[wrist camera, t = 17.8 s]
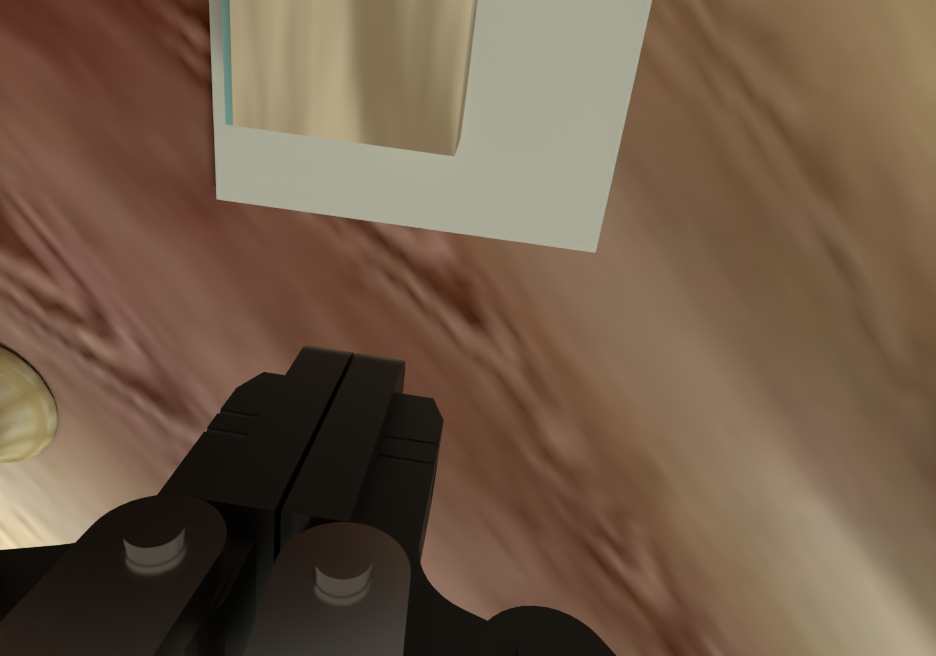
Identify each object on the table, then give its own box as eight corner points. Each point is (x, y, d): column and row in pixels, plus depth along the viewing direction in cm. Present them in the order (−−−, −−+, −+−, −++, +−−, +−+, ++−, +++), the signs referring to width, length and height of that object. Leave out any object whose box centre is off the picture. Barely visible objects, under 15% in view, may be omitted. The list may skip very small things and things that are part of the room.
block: (477, -47, 24) (218, -83, 24) (454, 156, 27) (225, 124, 27) (482, -42, 27) (257, -74, 27) (461, 136, 30) (259, 108, 30)
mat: (683, -152, 26) (686, -156, 25) (594, 248, 33) (595, 252, 32) (206, -221, 26) (200, -225, 25) (221, 195, 33) (216, 199, 32)
